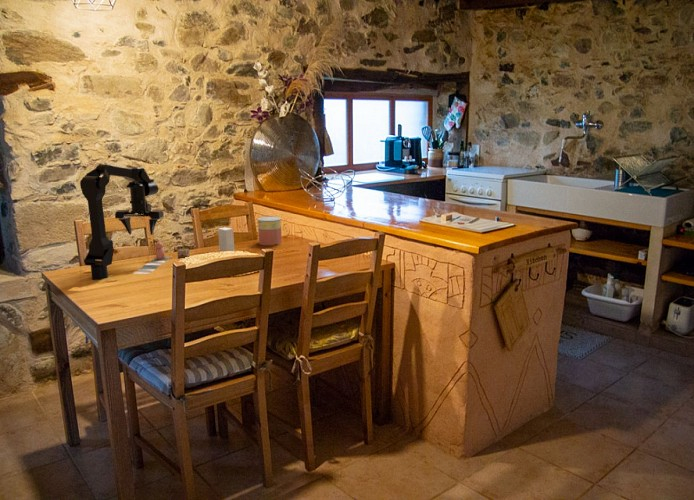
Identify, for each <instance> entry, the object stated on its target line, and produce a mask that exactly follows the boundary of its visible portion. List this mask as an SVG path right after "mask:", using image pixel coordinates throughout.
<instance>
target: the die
mask: <svg viewBox="0 0 694 500" xmlns="http://www.w3.org/2000/svg"><path fill="white" fill-rule="evenodd" d="M189 256H190V249H189V248H179V249H177V259H178V260H181V259H180V258H185V257H189Z"/></svg>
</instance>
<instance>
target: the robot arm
mask: <svg viewBox="0 0 694 500" xmlns="http://www.w3.org/2000/svg"><path fill="white" fill-rule="evenodd" d="M111 176H112V177H119V178H123V179H124V180H125V181H128V184H127V185H126V187H125V188H126V189H129V192H130V194H129V195H130V201H129V204H130V205H131V210H129V209H120V210H118V211H117V210H116V211H115V213H114V218H115V219H118V221H120V222H121V223H122V225H123V227H124V228H125V229H126V231H127V233H128V234H129V235H132V225H131V219H132V218H131V217H149V218H150V219H149V220H148V221H149V232H150V235H151V236H152V235H154V231H155V228H156V225H157V222H158V221H159V220H160V219H162V218H163V217H165V215H164V211H163V210H161V209H160V210H159V209H156V210H155V209H153V210H152V204H150V203H148V200H147V198H146V197H149V196H154V195H156V194H158V192H159V186H158V185H157V183H156V182H154V181H155V180H154V179H153V178H150V177H149V174H148V173H147V171H146V169H145V168H144V167H131V166H127V167H123V166H115V165H110V164H105V163H104V164H103V163H100V164H98V165H97V166H96V167H95V168H94V169H92V170H90V171H89V172H87V173H86V174H85V175H84V176H83V177H82V179H81V180H80V181H79V185H80V189H81V193H82V195H83V196H84V197H85V199H86V201H87V206H88V214H89V223H90V231H91V240H90V241H89V243H88V252H87V254H86V256H85V258H84V260H83V263H84V265H85V266H90V271H91V272H90V273H91V279H92V281H101V280H105V279H107V278H109V273H108V266H111V265H112V264H113V257H114V251H115V248H114V241H113V240H112V239H108V237H107V232H106V224H105V215H104V214H105V213H104V206H103V198H104V196H105V194H106V189H107V188H106V187H107V186H108V184H109V183H110V181H111Z"/></svg>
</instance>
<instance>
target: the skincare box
mask: <svg viewBox="0 0 694 500" xmlns="http://www.w3.org/2000/svg"><path fill="white" fill-rule="evenodd" d="M217 232H218V248H219V251H218V252H219V253H220V251H234V252H235V242H234V241H235V240H234V239H235V238H234V236H235V235H234V229H233V228H231V227H230V228H229V227H220V228H218V230H217Z"/></svg>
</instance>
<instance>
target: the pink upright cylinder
mask: <svg viewBox="0 0 694 500" xmlns="http://www.w3.org/2000/svg"><path fill="white" fill-rule="evenodd" d="M155 257H156V259H157V260H163V259H165V257H166V256H165V247H164V244H163V242H161V241H158V242H156V244H155Z"/></svg>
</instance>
